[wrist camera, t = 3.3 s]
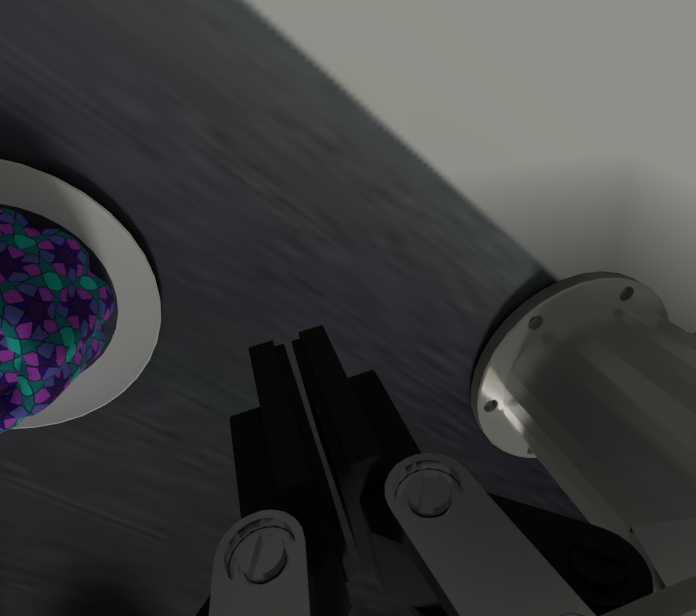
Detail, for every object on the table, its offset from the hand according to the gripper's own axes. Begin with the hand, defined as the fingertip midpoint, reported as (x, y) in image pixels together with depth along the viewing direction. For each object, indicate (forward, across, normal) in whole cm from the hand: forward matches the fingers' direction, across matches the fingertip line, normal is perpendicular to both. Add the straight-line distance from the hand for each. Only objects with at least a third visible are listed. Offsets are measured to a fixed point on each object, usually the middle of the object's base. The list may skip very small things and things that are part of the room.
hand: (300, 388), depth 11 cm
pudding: (+12, +10, +1) cm, 16 cm away
